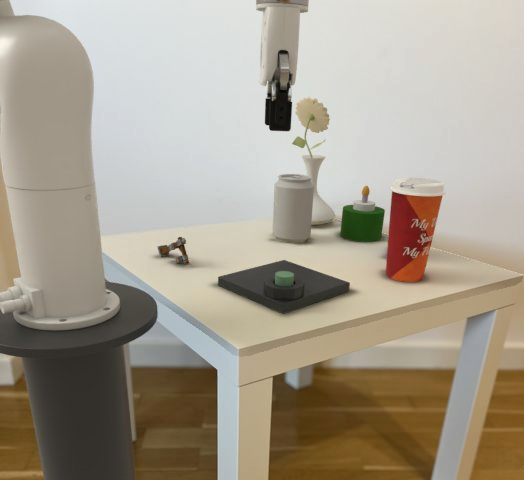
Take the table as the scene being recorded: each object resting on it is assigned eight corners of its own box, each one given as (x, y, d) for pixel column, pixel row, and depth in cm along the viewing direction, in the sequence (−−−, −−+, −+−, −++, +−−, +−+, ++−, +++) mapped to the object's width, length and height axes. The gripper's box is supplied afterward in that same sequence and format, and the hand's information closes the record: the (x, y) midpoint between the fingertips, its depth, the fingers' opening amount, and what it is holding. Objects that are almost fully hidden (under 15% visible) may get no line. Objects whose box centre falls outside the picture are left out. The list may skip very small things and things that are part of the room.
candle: (377, 243, 106) (384, 191, 102) (336, 238, 109) (341, 187, 104) (384, 233, 113) (390, 184, 109) (344, 229, 116) (349, 180, 111)
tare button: (284, 289, 74) (284, 278, 74) (270, 284, 76) (271, 273, 75) (297, 285, 76) (298, 274, 75) (284, 280, 78) (284, 269, 77)
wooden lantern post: (185, 263, 88) (178, 236, 88) (163, 271, 95) (156, 245, 94) (195, 261, 89) (188, 234, 89) (172, 269, 96) (166, 243, 95)
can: (264, 239, 107) (267, 175, 101) (285, 231, 112) (288, 171, 107) (297, 246, 103) (301, 180, 98) (317, 238, 108) (322, 175, 103)
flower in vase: (345, 225, 118) (358, 99, 107) (301, 231, 113) (310, 98, 102) (311, 213, 128) (319, 96, 117) (269, 217, 123) (274, 95, 112)
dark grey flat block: (283, 313, 73) (284, 292, 72) (217, 285, 82) (217, 266, 81) (349, 291, 82) (351, 272, 81) (283, 267, 91) (284, 250, 90)
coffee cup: (414, 288, 84) (431, 188, 78) (369, 275, 89) (381, 180, 82) (439, 276, 90) (456, 182, 83) (395, 264, 95) (408, 174, 88)
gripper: (253, 4, 85) (250, 122, 93) (259, -11, 70) (255, 132, 78) (301, 6, 86) (294, 124, 93) (317, -8, 70) (308, 134, 78)
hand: (276, 127), depth 85 cm, fingers open, 9 cm apart
